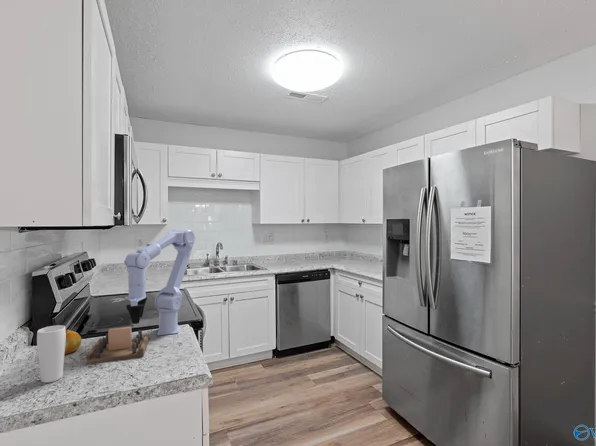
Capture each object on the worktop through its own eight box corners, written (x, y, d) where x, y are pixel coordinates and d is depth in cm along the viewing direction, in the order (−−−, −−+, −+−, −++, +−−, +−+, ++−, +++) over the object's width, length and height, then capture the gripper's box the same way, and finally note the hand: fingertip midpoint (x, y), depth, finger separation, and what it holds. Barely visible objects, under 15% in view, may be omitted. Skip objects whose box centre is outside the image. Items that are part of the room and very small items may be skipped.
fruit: (43, 350, 110) (56, 329, 111) (58, 343, 118) (71, 324, 119) (64, 362, 110) (77, 341, 111) (78, 354, 118) (90, 334, 119)
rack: (99, 345, 119) (99, 333, 119) (149, 340, 125) (149, 328, 125) (86, 364, 104) (85, 350, 104) (143, 356, 109) (143, 343, 109)
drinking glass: (50, 386, 90) (49, 333, 90) (31, 383, 92) (30, 332, 92) (71, 374, 97) (71, 325, 97) (53, 372, 98) (53, 324, 98)
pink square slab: (109, 348, 114) (109, 328, 114) (131, 345, 116) (131, 326, 116) (108, 350, 112) (108, 330, 112) (130, 347, 114) (130, 328, 114)
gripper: (128, 281, 125) (129, 315, 125) (121, 289, 111) (121, 327, 111) (148, 280, 127) (148, 314, 127) (143, 287, 114) (143, 325, 114)
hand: (137, 320), depth 120 cm, fingers open, 7 cm apart
